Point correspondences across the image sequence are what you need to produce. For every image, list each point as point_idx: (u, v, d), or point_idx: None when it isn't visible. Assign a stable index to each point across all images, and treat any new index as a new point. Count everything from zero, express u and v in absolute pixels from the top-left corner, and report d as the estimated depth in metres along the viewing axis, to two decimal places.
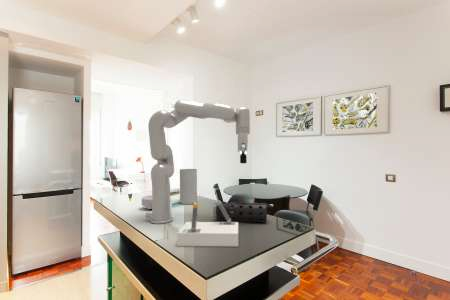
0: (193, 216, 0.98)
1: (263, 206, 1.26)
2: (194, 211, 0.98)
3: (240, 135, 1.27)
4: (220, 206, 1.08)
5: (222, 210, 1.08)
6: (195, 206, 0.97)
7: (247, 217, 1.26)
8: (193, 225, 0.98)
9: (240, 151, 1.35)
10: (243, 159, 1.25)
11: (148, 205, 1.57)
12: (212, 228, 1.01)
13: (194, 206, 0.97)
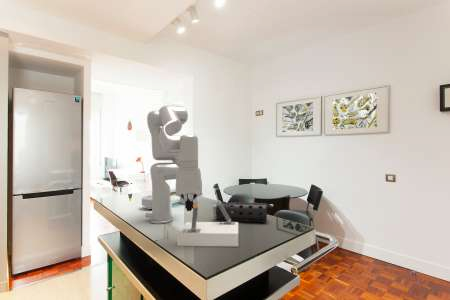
0: (193, 216, 0.98)
1: (263, 206, 1.26)
2: (194, 211, 0.98)
3: (199, 172, 0.98)
4: (220, 206, 1.08)
5: (222, 210, 1.08)
6: (195, 206, 0.97)
7: (247, 217, 1.26)
8: (193, 225, 0.98)
9: None
10: (192, 205, 0.99)
11: (148, 205, 1.57)
12: (212, 228, 1.01)
13: (194, 206, 0.97)
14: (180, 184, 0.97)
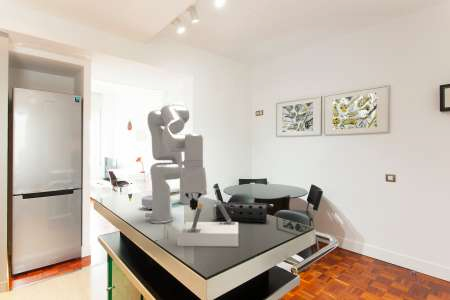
0: (196, 216, 0.98)
1: (263, 206, 1.26)
2: (198, 212, 0.98)
3: (204, 171, 0.98)
4: (220, 206, 1.08)
5: (222, 210, 1.08)
6: (200, 207, 0.97)
7: (247, 217, 1.26)
8: (194, 225, 0.98)
9: None
10: (197, 204, 0.99)
11: (148, 205, 1.57)
12: (212, 228, 1.01)
13: (199, 207, 0.97)
14: (185, 183, 0.97)
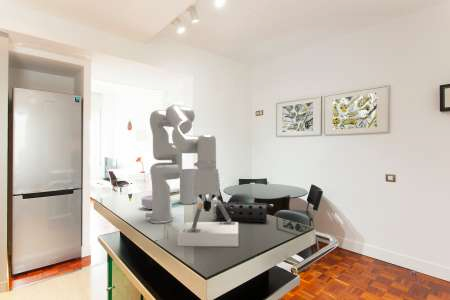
0: (196, 216, 0.98)
1: (263, 206, 1.26)
2: (198, 212, 0.98)
3: (217, 172, 0.97)
4: (220, 206, 1.08)
5: (222, 210, 1.08)
6: (200, 207, 0.97)
7: (247, 217, 1.26)
8: (194, 225, 0.98)
9: (203, 194, 0.98)
10: (210, 205, 0.99)
11: (148, 205, 1.57)
12: (212, 228, 1.01)
13: (199, 207, 0.97)
14: (198, 184, 0.96)
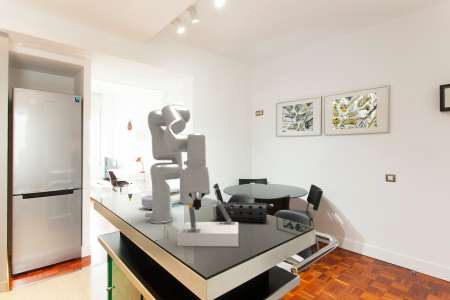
0: (191, 216, 0.98)
1: (263, 206, 1.26)
2: (191, 211, 0.98)
3: (207, 170, 0.98)
4: (220, 206, 1.08)
5: (222, 210, 1.08)
6: (191, 206, 0.98)
7: (247, 217, 1.26)
8: (192, 225, 0.98)
9: None
10: (200, 204, 0.99)
11: (148, 205, 1.57)
12: (212, 228, 1.01)
13: (190, 206, 0.98)
14: (188, 183, 0.97)
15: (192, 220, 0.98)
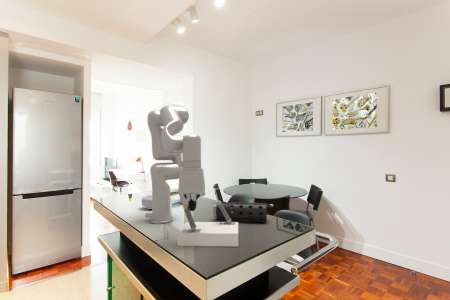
0: (188, 217, 0.98)
1: (263, 206, 1.26)
2: (186, 212, 0.98)
3: (202, 171, 0.98)
4: (220, 206, 1.08)
5: (222, 210, 1.08)
6: (185, 207, 0.98)
7: (247, 217, 1.26)
8: (191, 225, 0.98)
9: None
10: (195, 205, 0.99)
11: (148, 205, 1.57)
12: (212, 228, 1.01)
13: (184, 207, 0.98)
14: (183, 184, 0.97)
15: (190, 220, 0.98)
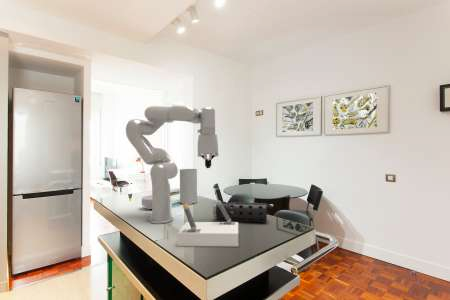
0: (188, 217, 0.98)
1: (263, 206, 1.26)
2: (186, 212, 0.98)
3: (216, 136, 1.23)
4: (220, 206, 1.08)
5: (222, 210, 1.08)
6: (185, 207, 0.98)
7: (247, 217, 1.26)
8: (191, 225, 0.98)
9: (205, 154, 1.23)
10: None
11: (148, 205, 1.57)
12: (212, 228, 1.01)
13: (184, 207, 0.98)
14: (201, 146, 1.22)
15: (190, 220, 0.98)
